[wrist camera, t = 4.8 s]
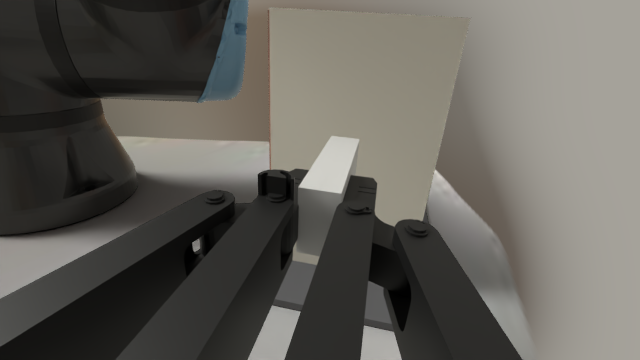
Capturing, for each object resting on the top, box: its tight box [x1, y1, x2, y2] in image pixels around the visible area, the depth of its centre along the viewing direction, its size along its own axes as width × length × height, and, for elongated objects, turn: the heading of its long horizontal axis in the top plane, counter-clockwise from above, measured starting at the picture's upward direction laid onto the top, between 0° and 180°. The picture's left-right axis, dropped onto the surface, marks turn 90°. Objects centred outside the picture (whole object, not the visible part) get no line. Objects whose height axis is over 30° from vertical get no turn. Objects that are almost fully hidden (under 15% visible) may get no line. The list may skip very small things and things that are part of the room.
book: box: [268, 8, 470, 265], centre depth 22 cm, size 4×11×18 cm, turn 78°
